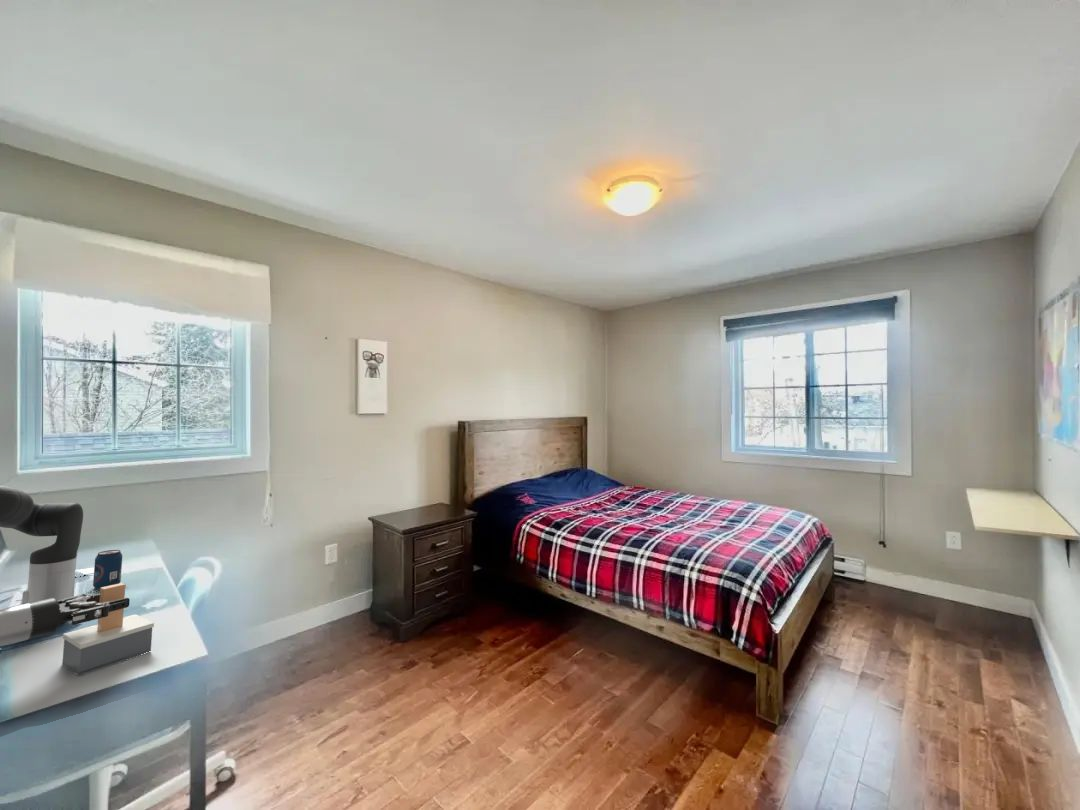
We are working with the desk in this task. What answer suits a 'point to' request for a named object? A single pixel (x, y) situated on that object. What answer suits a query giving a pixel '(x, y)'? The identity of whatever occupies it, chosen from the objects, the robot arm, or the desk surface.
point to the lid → (108, 622)
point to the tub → (106, 652)
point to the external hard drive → (86, 571)
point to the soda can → (107, 568)
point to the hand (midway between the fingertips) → (121, 598)
